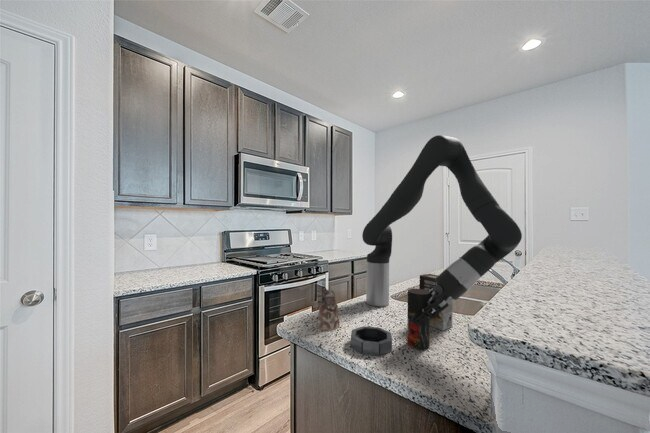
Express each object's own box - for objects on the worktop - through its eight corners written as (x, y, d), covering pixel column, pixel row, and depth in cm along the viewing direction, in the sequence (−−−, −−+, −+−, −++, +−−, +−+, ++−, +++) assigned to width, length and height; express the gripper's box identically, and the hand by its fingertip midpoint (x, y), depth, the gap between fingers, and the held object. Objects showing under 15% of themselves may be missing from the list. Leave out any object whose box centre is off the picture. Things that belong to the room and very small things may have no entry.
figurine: (322, 332, 87) (323, 293, 87) (313, 324, 93) (314, 288, 93) (343, 328, 90) (343, 291, 90) (332, 320, 96) (333, 285, 96)
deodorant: (434, 348, 77) (434, 293, 77) (415, 351, 75) (415, 295, 75) (420, 339, 82) (421, 288, 82) (403, 341, 81) (403, 289, 81)
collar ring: (352, 335, 84) (353, 325, 84) (390, 338, 82) (390, 328, 82) (349, 352, 74) (349, 341, 74) (392, 357, 72) (392, 345, 72)
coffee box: (417, 322, 95) (418, 275, 95) (428, 318, 99) (428, 272, 99) (443, 331, 88) (444, 280, 88) (453, 326, 92) (454, 277, 92)
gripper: (441, 264, 84) (400, 301, 86) (454, 273, 70) (405, 317, 72) (459, 282, 83) (417, 319, 85) (477, 296, 69) (426, 339, 71)
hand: (412, 318), depth 79 cm, fingers closed on deodorant, 6 cm apart
